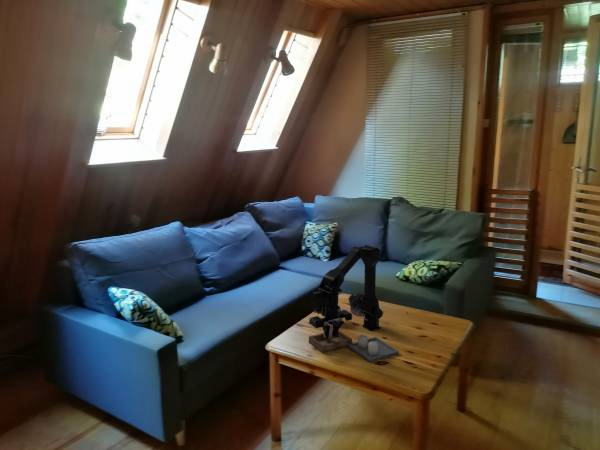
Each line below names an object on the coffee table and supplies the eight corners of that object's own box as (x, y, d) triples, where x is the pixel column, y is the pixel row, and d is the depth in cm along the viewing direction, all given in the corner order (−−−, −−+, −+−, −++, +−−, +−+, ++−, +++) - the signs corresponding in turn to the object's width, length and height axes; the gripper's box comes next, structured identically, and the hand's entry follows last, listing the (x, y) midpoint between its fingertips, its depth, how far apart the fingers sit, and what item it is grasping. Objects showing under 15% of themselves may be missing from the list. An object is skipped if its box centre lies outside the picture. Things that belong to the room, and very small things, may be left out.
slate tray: (375, 339, 204) (375, 336, 203) (398, 354, 191) (398, 350, 191) (347, 347, 196) (347, 344, 196) (369, 362, 184) (370, 359, 183)
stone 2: (361, 343, 198) (361, 334, 197) (369, 346, 195) (369, 336, 194) (355, 347, 195) (356, 337, 194) (363, 350, 192) (364, 340, 191)
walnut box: (337, 335, 207) (337, 329, 207) (351, 345, 198) (352, 338, 197) (308, 342, 200) (308, 336, 199) (322, 353, 191) (322, 346, 190)
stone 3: (375, 351, 192) (376, 341, 191) (379, 355, 188) (379, 345, 187) (366, 352, 191) (366, 342, 190) (370, 356, 187) (370, 346, 186)
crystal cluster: (380, 312, 235) (381, 293, 235) (365, 318, 226) (365, 298, 225) (359, 307, 244) (359, 289, 244) (343, 312, 235) (343, 293, 234)
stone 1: (334, 337, 199) (334, 327, 198) (326, 338, 198) (326, 329, 197) (329, 333, 203) (329, 323, 202) (321, 335, 201) (321, 325, 200)
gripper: (338, 293, 206) (337, 325, 210) (302, 300, 197) (302, 334, 201) (353, 301, 197) (352, 335, 200) (316, 309, 188) (315, 345, 191)
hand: (330, 337), depth 198 cm, fingers closed on stone 1, 3 cm apart
